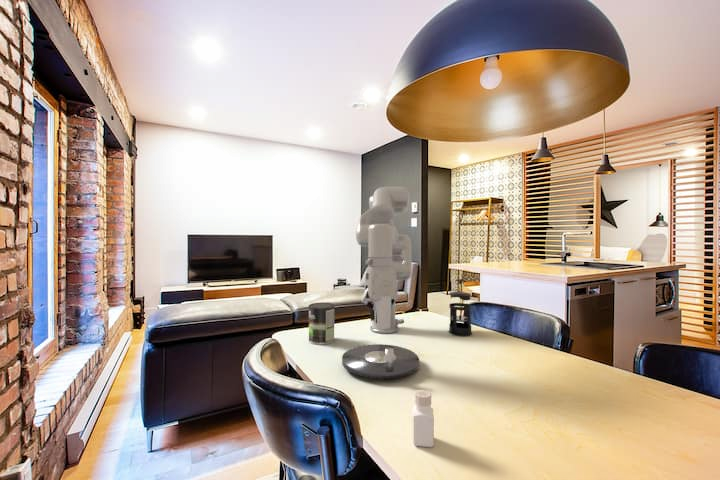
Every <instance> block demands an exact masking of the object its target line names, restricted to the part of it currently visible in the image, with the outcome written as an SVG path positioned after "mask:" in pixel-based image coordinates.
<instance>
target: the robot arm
mask: <svg viewBox="0 0 720 480" xmlns="http://www.w3.org/2000/svg"><path fill="white" fill-rule="evenodd" d="M410 197H411V196H410V192H409V189H408V188H407V187H405V186H382V187H378V188H376V189H375V191H374V193H373V195H371V196H370V197H369V199H368V205H369V209H367V210H366V211H365V212H363V213H362V214H361V215H360V216H359V218H358V221H357V226H356V231H355V232H356V233H355V239H356V242H357V244H358V245H359V246H361V247H368V254H367V255H368V257H367V259H366V260H365V264H366V265H367V266H368V267H366V271H365V276H364V287H363V295H361V298H360V302H362V303H363V304H365V305H366V306H367V307H368V309H369V311H370V313H369V314H370V315H369V316H370V317H369V318H370V321H371V322H372V320H374V319H375V318H374V310H375V301H379V300H381V296H391V316H390V328H387V329H376V328H373V327H372V325H371V326H370V328H369V330H370V331H371V332H373V333H376V334H394V333H397V332H399V330H400V327H399V325H402V324H404V323H405V319H403V318H401V319H398V318H396V301H397V300H398V299H400V296H399V294H398V281H408V280H410V279H411V277H412V272H413V271H412V270H413V269H412V260H413V259H412V241H411V238H410V236H409V235H407V234H405V233H404V234H403V233H399V230H398V229H397V227H396V226H395V223H394V221H393V220H392V219H393V217H394V214H405V213H407V212H408V211H409V207H410V203H411V198H410ZM393 256H400V258H393ZM371 301H373V304H372V303H371ZM376 323H377V311H376Z"/></svg>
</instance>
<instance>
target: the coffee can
mask: <svg viewBox="0 0 720 480" xmlns="http://www.w3.org/2000/svg"><path fill="white" fill-rule="evenodd" d="M335 307H336V305H335V304H334V303H332V302H313V303H310V304H308V342H309V344H313V345H320V346H321V345H328V344H332V343H333V342H335Z"/></svg>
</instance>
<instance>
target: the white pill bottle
mask: <svg viewBox="0 0 720 480" xmlns="http://www.w3.org/2000/svg"><path fill="white" fill-rule="evenodd" d="M414 404H415V405H413V406H412V443H413V444H412V445H414V446H415V447H424V448H433V447H434V445H435V433H434V432H435V416H434V415H435V414H434V408H433V407H431V406H432V393H431V392H430V391H429V390H426V389H418V390H416V391H415V392H414Z"/></svg>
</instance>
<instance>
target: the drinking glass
mask: <svg viewBox="0 0 720 480" xmlns="http://www.w3.org/2000/svg"><path fill="white" fill-rule="evenodd" d="M371 303H372V304H373V301H371ZM376 311H377V323H376ZM390 316H391V296H381V300H379V301H375V310H374V318H375V319H374V320H372V321H371V326H372V327H373V328H376V329H387V328H390Z"/></svg>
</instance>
